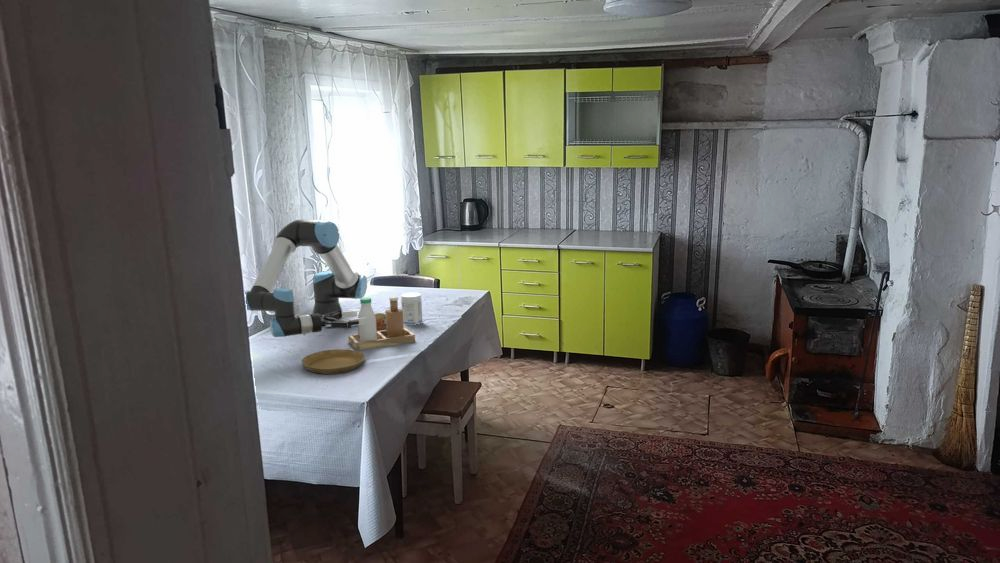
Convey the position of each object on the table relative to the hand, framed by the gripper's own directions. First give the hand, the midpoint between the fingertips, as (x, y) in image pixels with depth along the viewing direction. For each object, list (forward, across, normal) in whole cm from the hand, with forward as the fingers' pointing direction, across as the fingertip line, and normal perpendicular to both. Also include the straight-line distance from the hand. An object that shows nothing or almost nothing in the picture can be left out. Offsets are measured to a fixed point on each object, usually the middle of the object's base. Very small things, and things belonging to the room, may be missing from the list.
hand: (361, 316), depth 284 cm
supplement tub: (+31, -23, -14) cm, 41 cm away
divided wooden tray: (+8, 0, -13) cm, 16 cm away
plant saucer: (-17, +18, -14) cm, 28 cm away
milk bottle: (+2, 0, -12) cm, 13 cm away
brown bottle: (+15, 0, -12) cm, 19 cm away
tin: (+11, -20, -14) cm, 27 cm away
